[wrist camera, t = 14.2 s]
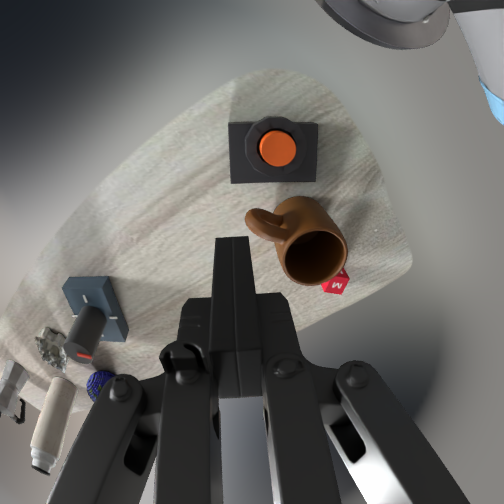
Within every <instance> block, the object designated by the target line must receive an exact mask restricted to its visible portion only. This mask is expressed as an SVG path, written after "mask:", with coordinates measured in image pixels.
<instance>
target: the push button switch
mask: <svg viewBox="0 0 504 504" xmlns="http://www.w3.org/2000/svg"><path fill="white" fill-rule="evenodd" d="M271 131H282V132H284V133H286V134H287V135H289V136H290V137H291V138H292V139H293V140H294V142H295V145H296V154H295V156H294V158H293V160H292V161H291V162H290V163H288V164H286V165H284V166H273V165H270V164H269V163H267V162H266V161H265V160H264V158H263V157H262V155H261V153H260V149H259V145H260V141H261V139H262V137H263V136H264V135H265V134H267V133H268V132H271ZM228 134H229V157H230V178H231V184H240V183H267V182H316V167H317V144H318V124H316V123H313V122H292V121H290V120H288V119H287V118H284V117H276V116H267V117H264V118H263V119H261V120H259V121H257V122H230V123H228Z"/></svg>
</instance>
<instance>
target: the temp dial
mask: <svg viewBox="0 0 504 504" xmlns="http://www.w3.org/2000/svg"><path fill="white" fill-rule="evenodd" d="M106 324H107V319H106V317H105V315H104V314H103V313H102V312H101V311H100V310H99V309H97V308H95V307H93V306H84V307H82V308H81V310H80V312H79V314H78V316H77V318H76V320H75V322H74V324H73V326H72V328H71V330H70V332H69V334H68V336H67V338H66V340H65V342H64V345H63V349H64V351H65V352H66V354H67V355H68V356H69V357H70V358H72V359H73V360H75V361H77V362H79V363H83V364H89V363H91V362H92V360H93V357H94V355H95V352H96V349H97V347H98V344H99V342H100V339H101V336H102V334H103V331H104V329H105V326H106Z"/></svg>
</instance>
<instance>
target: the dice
mask: <svg viewBox="0 0 504 504" xmlns="http://www.w3.org/2000/svg"><path fill="white" fill-rule="evenodd" d="M349 279H350V278H349V277H348V275H347V273H346V271H345V270H344V268H342V270H341V271H340V272H339V273H338V274H337V275H336V276H335V277H334V278H332V279H331V280H329V281H327V282H325V283H323V284H321V285H322V288H323V290H324V292H327V293H334V294H342V293H343V291H344V289H345V287H346V285H347V283H348V281H349Z"/></svg>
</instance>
